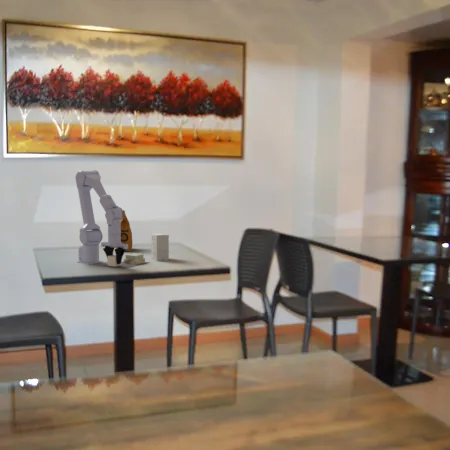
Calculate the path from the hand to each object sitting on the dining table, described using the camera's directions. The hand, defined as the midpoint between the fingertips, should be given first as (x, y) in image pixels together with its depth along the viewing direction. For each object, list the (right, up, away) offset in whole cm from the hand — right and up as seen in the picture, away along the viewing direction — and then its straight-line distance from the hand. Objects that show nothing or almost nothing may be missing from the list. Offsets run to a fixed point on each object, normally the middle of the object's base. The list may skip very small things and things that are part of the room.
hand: (114, 263), depth 270 cm
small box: (+19, 0, +21) cm, 28 cm away
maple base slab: (+8, -1, +9) cm, 12 cm away
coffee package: (-5, +4, +51) cm, 52 cm away
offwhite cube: (0, -1, 0) cm, 1 cm away
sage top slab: (+8, +1, +9) cm, 12 cm away
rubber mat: (+5, -1, +5) cm, 7 cm away
